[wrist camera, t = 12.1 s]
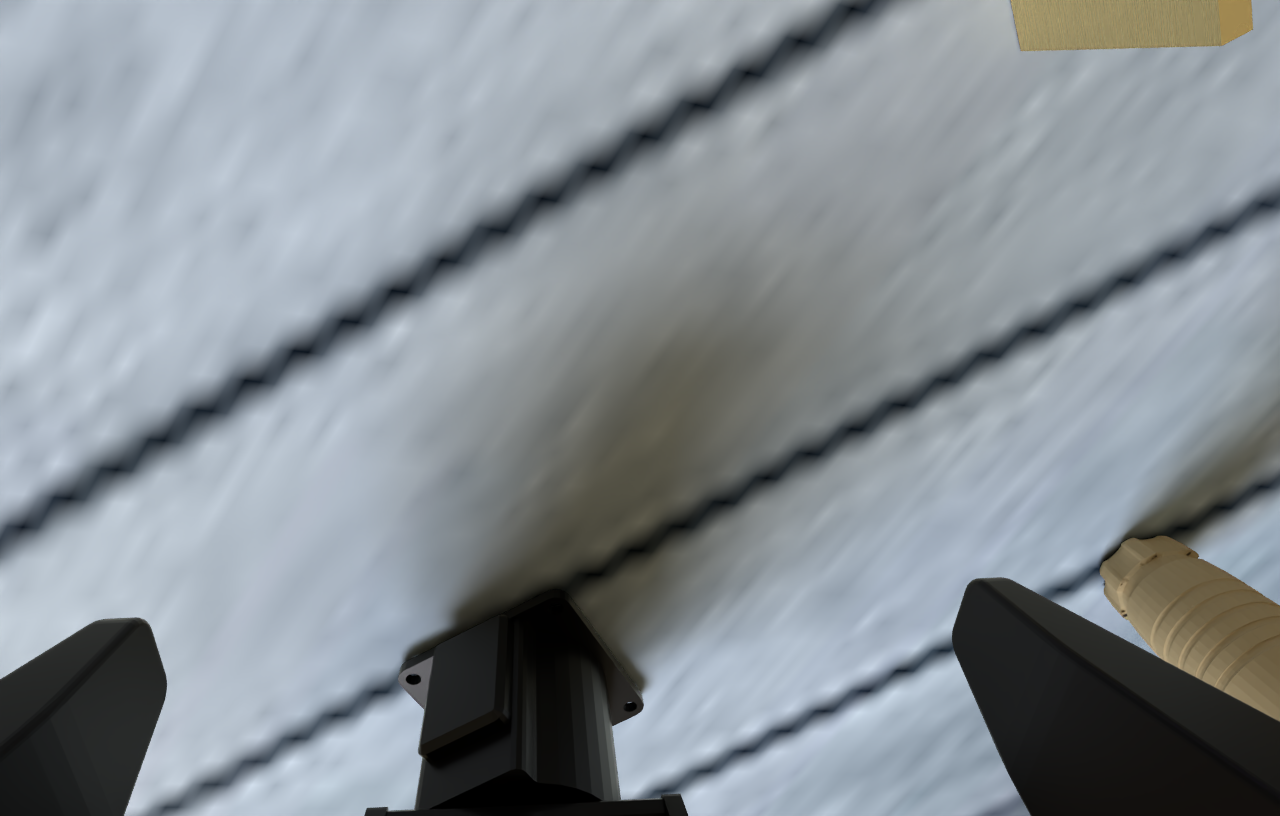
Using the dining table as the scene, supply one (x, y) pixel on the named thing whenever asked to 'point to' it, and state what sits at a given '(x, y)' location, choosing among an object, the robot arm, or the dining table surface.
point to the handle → (1199, 618)
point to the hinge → (1128, 23)
